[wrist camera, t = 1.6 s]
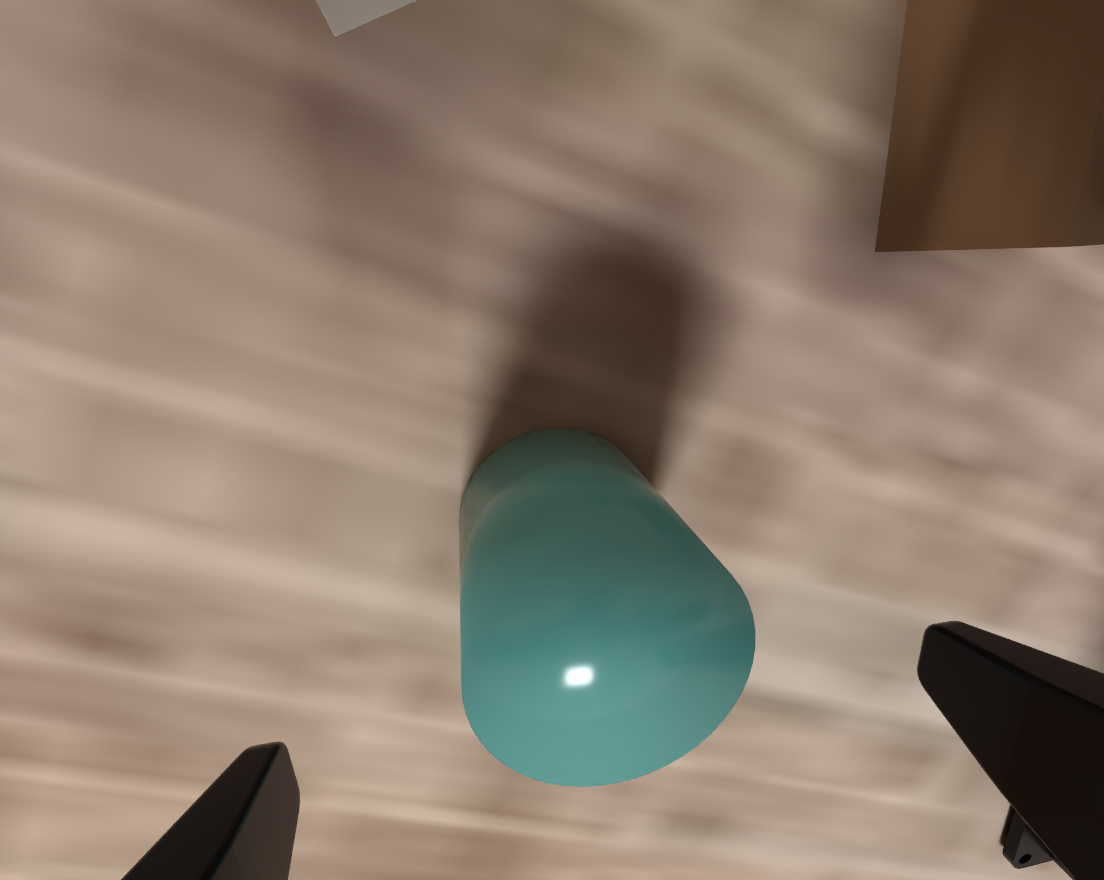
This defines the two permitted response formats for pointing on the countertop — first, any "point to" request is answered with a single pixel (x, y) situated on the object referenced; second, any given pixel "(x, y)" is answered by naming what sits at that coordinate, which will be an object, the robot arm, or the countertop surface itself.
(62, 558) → the countertop surface
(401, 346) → the countertop surface
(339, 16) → the cube
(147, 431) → the countertop surface
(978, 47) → the tower base
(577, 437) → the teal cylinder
